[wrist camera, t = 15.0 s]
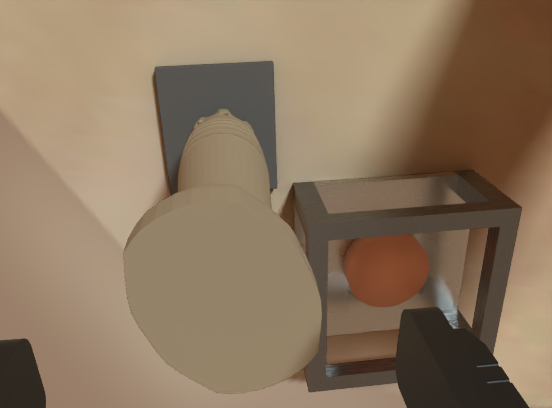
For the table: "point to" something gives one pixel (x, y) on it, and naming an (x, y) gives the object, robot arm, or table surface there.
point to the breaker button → (386, 269)
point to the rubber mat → (216, 105)
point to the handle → (223, 269)
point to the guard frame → (431, 236)
